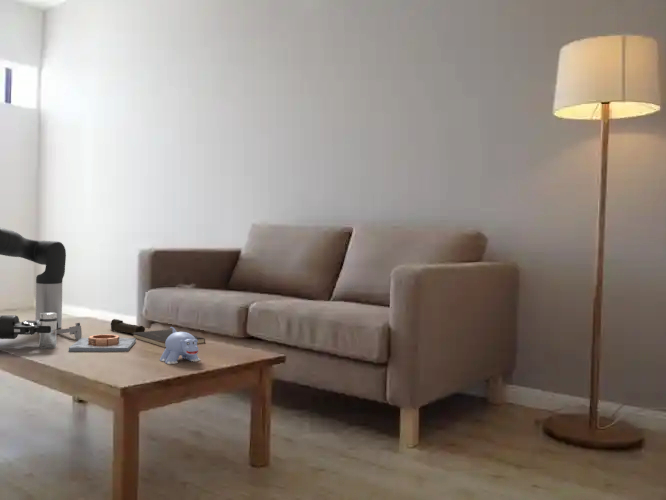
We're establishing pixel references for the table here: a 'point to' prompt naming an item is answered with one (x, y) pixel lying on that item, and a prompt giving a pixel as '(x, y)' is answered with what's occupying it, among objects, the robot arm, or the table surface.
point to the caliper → (72, 331)
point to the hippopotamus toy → (180, 347)
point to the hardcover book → (159, 336)
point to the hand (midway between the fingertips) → (54, 327)
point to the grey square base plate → (103, 344)
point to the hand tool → (125, 327)
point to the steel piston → (50, 338)
